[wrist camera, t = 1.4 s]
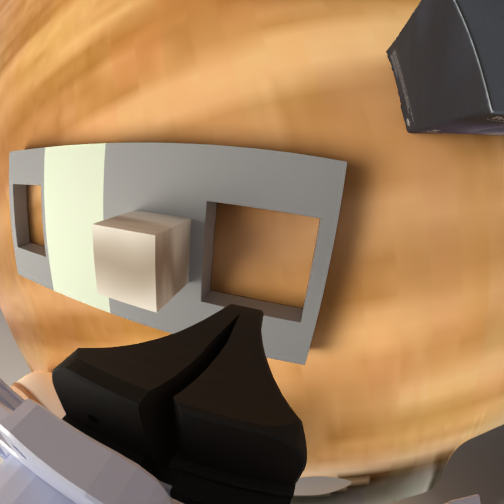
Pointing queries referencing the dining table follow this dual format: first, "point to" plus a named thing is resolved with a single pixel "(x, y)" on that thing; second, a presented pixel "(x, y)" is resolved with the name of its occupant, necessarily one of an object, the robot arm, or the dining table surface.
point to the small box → (452, 67)
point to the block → (142, 257)
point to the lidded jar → (39, 391)
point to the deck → (175, 204)
